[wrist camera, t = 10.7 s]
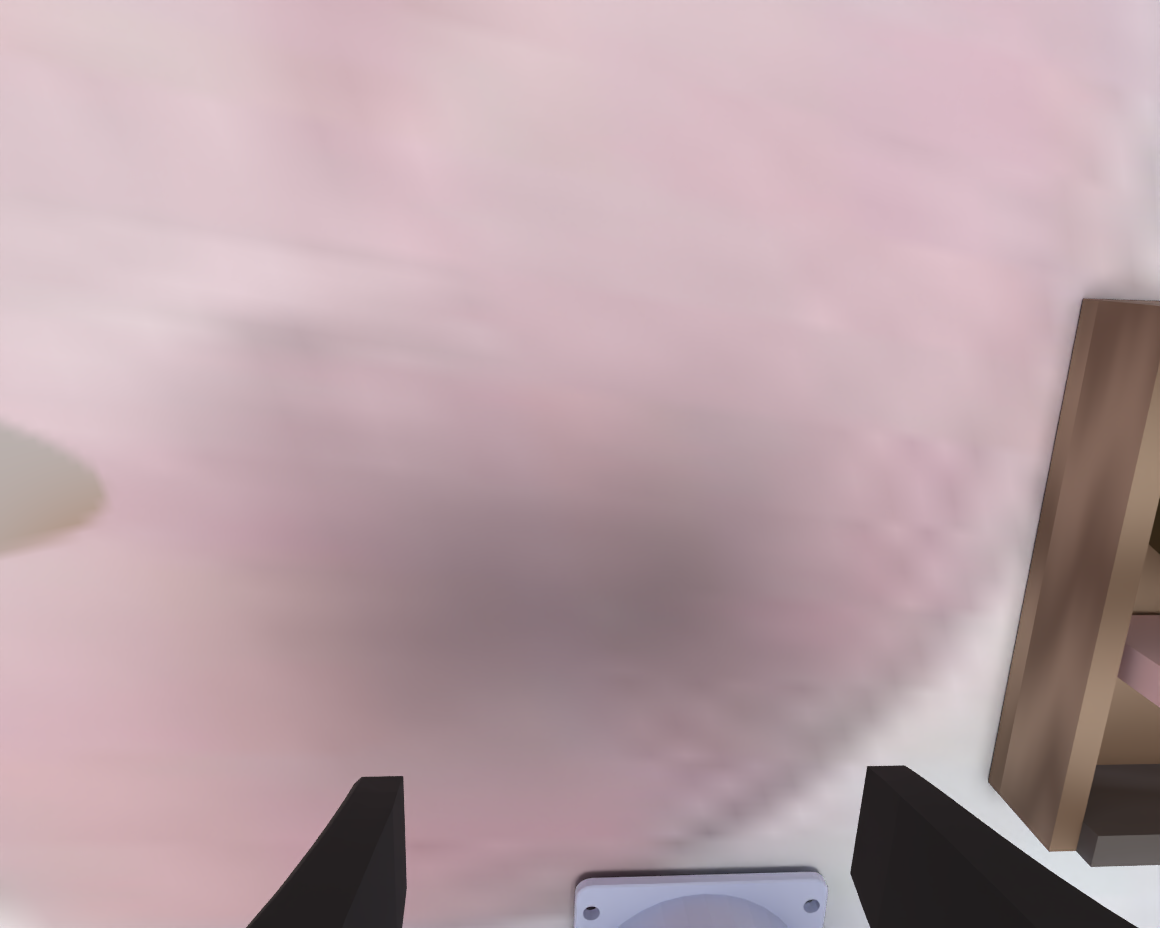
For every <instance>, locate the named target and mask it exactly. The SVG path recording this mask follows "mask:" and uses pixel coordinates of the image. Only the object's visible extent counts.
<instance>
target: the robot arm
mask: <svg viewBox="0 0 1160 928" xmlns="http://www.w3.org/2000/svg"><path fill="white" fill-rule="evenodd" d="M850 873H851V876H852V879H853V882H854V885H855V887H856V890H857V893H858V896H859V899H860V902H861V904H862V907H863V910H864V913H865V915H866V918H867V920H868V923H869V925H870V928H1138V927H1136V926H1134V925H1133V924H1131V923H1129V922H1128V921H1126V920H1125V919H1123V918H1121V917H1120V916H1118V915H1117V914H1115V913H1113V912H1112V911H1110V910H1109V909H1107V908H1105V907H1104V906H1102V905H1101V904H1099V903H1098V902H1096V901H1095V900H1093V899H1092V898H1090V897H1089V896H1087V895H1086V894H1084V893H1083V892H1081V891H1080V890H1078V889H1077V888H1075V887H1074V886H1072V885H1071V884H1069V883H1068V882H1066V881H1065V880H1063V879H1062V878H1060V877H1059V876H1057V875H1056V874H1054V873H1053V872H1051V871H1050V870H1049V869H1047V868H1046V867H1044V866H1043V865H1041V864H1040V863H1038V862H1037V861H1036V860H1034V859H1033V858H1031V857H1030V856H1029V855H1027V854H1026V853H1024V852H1023V851H1022V850H1020V849H1019V848H1017V847H1016V846H1015V845H1013V844H1012V843H1011V842H1009V841H1008V840H1006V839H1005V838H1004V837H1002V836H1001V835H1000V834H998V833H997V832H996V831H994V830H993V829H991V828H990V827H989V826H987V825H986V824H985V823H983V822H982V821H981V820H979V819H978V818H977V817H975V816H974V815H973V814H971V813H970V812H969V811H967V810H966V809H965V808H963V807H962V806H961V805H959V804H958V803H956V802H955V801H954V800H952V799H951V798H950V797H948V796H947V795H946V794H944V793H943V792H942V791H940V790H939V789H938V788H936V787H935V786H934V785H932V784H931V783H929V782H928V781H927V780H925V779H924V778H922V777H921V776H920V775H918V774H917V773H915V772H914V771H912V770H911V769H909V768H908V767H906V766H867V772H866V778H865V784H864V790H863V797H862V803H861V809H860V816H859V822H858V828H857V835H856V841H855V847H854V853H853V860H852V866H851V872H850ZM406 889H407V882H406V850H405V818H404V785H403V776H386V777H361V778H360V779H359V780H358V781H357V782H356V783H355V784H354V785H353V787H352V789H351V790H350V792H349V793H348V795H347V797H346V798H345V800H344V801H343V803H342V804H341V806H340V807H339V809H338V810H337V812H336V813H335V815H334V816H333V818H332V819H331V820H330V822H329V823H328V825H327V826H326V828H325V829H324V830H323V832H322V833H321V835H320V836H319V837H318V839H317V840H316V842H315V843H314V844H313V846H312V847H311V848H310V850H309V851H308V852H307V853H306V855H305V856H304V857H303V859H302V860H301V861H300V863H299V864H298V865H297V867H296V868H295V869H294V870H293V872H292V873H291V874H290V876H289V877H288V878H287V880H286V881H285V882H284V883H283V885H282V886H281V887H280V888H279V890H278V891H277V892H276V893H275V894H274V896H273V897H272V898H271V899H270V900H269V901H268V903H267V904H266V905H265V906H264V907H263V908H262V910H261V911H260V912H259V913H258V914H257V916H256V917H255V918H254V919H253V920H252V921H251V923H250V924H249V925H248V926H247V927H246V928H402V923H403V915H404V906H405V898H406ZM827 896H828V886H827V884H826V882H825V880H824V878H823V877H822V875H820V874H819V873H817V872H782V873H747V874H713V875H678V876H643V877H609V878H589V879H585V880H583V881H581V882H580V883H579V884H578V885H577V887H576V890H575V905H574V928H823V925H824V918H825V911H826V903H827ZM811 899H814V900H813V901H811V902H809V903H805V902H807V901H808V900H811ZM591 906H593V907H596V908H595V909H592V910H587V909H586V908H587V907H591Z"/></svg>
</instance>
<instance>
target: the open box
mask: <svg viewBox="0 0 1160 928" xmlns="http://www.w3.org/2000/svg"><path fill="white" fill-rule="evenodd" d="M1159 498H1160V301H1145V300H1113V299H1083V303H1082V308H1081V313H1080V318H1079V323H1078V328H1077V333H1076V338H1075V343H1074V348H1073V354H1072V359H1071V364H1070V369H1069V374H1068V379H1067V384H1066V389H1065V394H1064V399H1063V404H1062V409H1061V415H1060V420H1059V425H1058V430H1057V435H1056V440H1055V445H1054V450H1053V455H1052V460H1051V465H1050V471H1049V476H1048V481H1047V486H1046V491H1045V496H1044V501H1043V506H1042V511H1041V516H1040V521H1039V526H1038V532H1037V537H1036V542H1035V547H1034V552H1033V557H1032V562H1031V567H1030V572H1029V577H1028V582H1027V587H1026V593H1025V598H1024V603H1023V608H1022V613H1021V618H1020V623H1019V628H1018V633H1017V638H1016V643H1015V648H1014V654H1013V659H1012V664H1011V669H1010V674H1009V679H1008V684H1007V689H1006V694H1005V699H1004V704H1003V710H1002V715H1001V720H1000V725H999V730H998V735H997V740H996V745H995V750H994V755H993V760H992V765H991V771H990V776H989V781H988V782H989V783H990V785H991V786H992V787H993V788H994V789H995V790H996V791H997V793H998V794H999V795H1000V796H1001V797H1002V798H1003V800H1004V801H1005V802H1006V803H1007V804H1008V805H1009V806H1010V808H1011V809H1012V810H1013V811H1014V812H1015V813H1016V814H1017V816H1018V817H1019V818H1020V819H1021V820H1022V821H1023V822H1024V824H1025V825H1026V826H1027V827H1028V828H1029V829H1030V830H1031V832H1032V833H1033V834H1034V835H1035V836H1036V837H1037V838H1038V840H1039V841H1040V842H1041V843H1042V844H1043V845H1044V846H1045V848H1046V849H1047V850H1048V851H1049V852H1051V851H1077V852H1078V854H1079V855H1080V856H1081V857H1082V858H1083V859H1084V860H1085V861H1086V862H1087V863H1088V864H1089V865H1090V867H1103V866H1137V865H1160V707H1158V706H1157V705H1155V704H1154V703H1153V702H1151V701H1150V700H1149V699H1147V698H1146V697H1144V696H1143V695H1142V694H1140V693H1139V692H1137V691H1136V690H1135V689H1133V688H1132V687H1131V686H1129V685H1128V684H1126V683H1125V682H1124V681H1122V680H1121V679H1119V678H1118V677H1117V675H1118V671H1119V667H1120V663H1121V659H1122V654H1123V650H1124V646H1125V642H1126V637H1127V633H1128V629H1129V625H1130V620H1131V616H1132V615H1160V554H1159V553H1158V552H1157V551H1156V550H1154V549H1153V548H1152V547H1151V546H1150V545H1149V540H1150V536H1151V532H1152V528H1153V523H1154V519H1155V515H1156V511H1157V506H1158V502H1159Z"/></svg>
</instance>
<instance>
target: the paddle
mask: <svg viewBox="0 0 1160 928" xmlns="http://www.w3.org/2000/svg"><path fill="white" fill-rule="evenodd" d="M1117 677H1118V678H1119V679H1121V680H1122V681H1124V682H1125V683H1126V684H1128V685H1129V686H1131V687H1132V688H1133V689H1135V690H1136V691H1137V692H1139V693H1140V694H1142V695H1143V696H1144V697H1146V698H1147V699H1149V700H1150V701H1151V702H1153V703H1154V704H1155V705H1157V706H1158V707H1160V615H1132V616H1131V620H1130V625H1129V629H1128V633H1127V637H1126V642H1125V646H1124V650H1123V654H1122V659H1121V663H1120V667H1119V671H1118V675H1117Z"/></svg>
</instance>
